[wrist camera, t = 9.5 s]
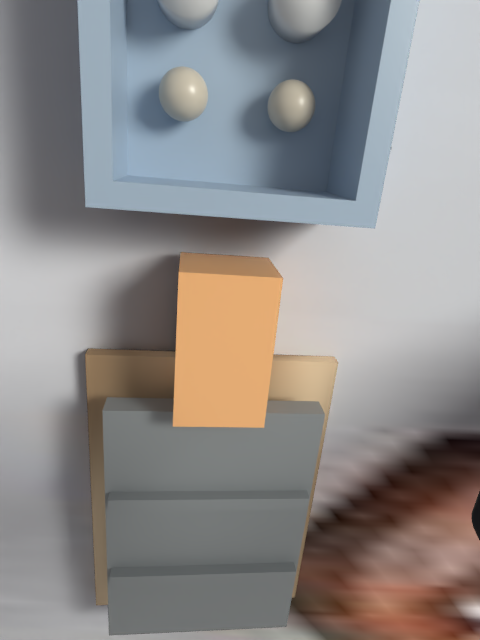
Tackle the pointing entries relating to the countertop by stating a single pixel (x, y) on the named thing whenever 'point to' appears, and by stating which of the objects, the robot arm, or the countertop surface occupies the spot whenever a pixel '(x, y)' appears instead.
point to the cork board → (158, 382)
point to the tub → (242, 106)
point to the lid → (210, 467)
